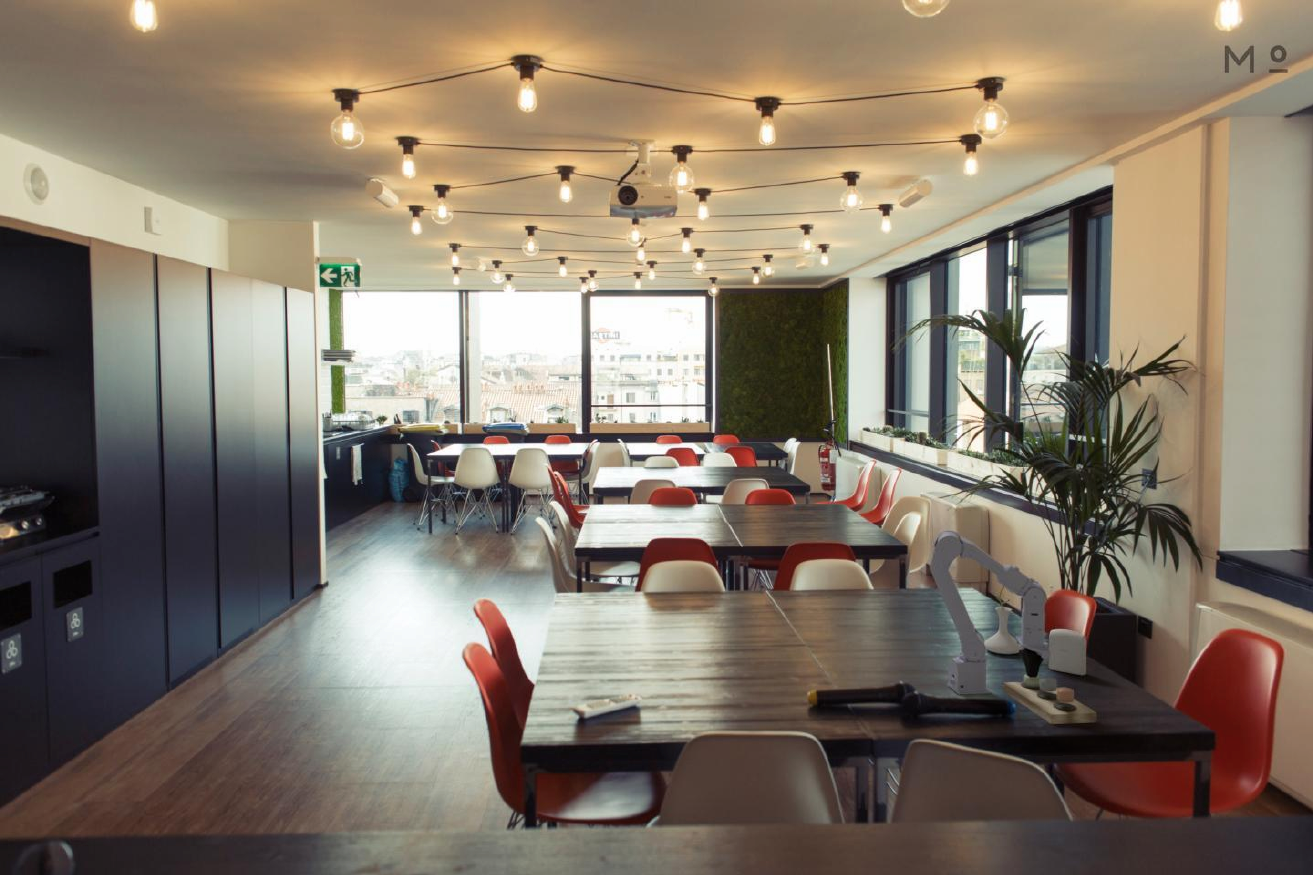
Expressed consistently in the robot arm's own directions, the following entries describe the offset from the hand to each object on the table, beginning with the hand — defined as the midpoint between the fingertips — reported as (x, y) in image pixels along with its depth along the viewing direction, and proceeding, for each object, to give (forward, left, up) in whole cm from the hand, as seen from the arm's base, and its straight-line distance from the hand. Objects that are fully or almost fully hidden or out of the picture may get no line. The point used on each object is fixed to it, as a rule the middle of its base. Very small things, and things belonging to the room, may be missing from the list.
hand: (1031, 676), depth 240 cm
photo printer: (+21, +18, -5) cm, 28 cm away
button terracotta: (0, -16, 0) cm, 16 cm away
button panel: (0, -8, -5) cm, 9 cm away
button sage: (0, 0, -2) cm, 2 cm away
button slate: (0, -8, 0) cm, 8 cm away
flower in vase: (+12, +39, -5) cm, 41 cm away
